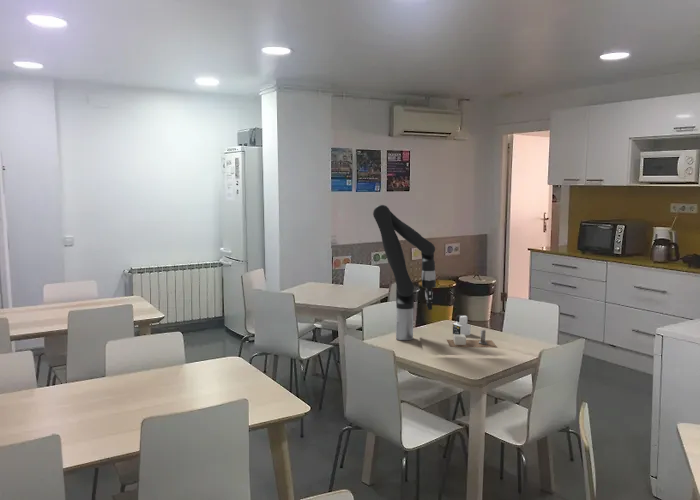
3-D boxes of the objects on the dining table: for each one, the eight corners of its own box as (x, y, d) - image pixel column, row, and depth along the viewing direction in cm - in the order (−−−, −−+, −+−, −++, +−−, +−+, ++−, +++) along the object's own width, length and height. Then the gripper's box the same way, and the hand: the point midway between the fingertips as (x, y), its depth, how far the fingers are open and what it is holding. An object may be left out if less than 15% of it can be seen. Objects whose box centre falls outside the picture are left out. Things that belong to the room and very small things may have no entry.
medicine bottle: (452, 335, 313) (452, 314, 312) (462, 334, 316) (463, 313, 315) (460, 338, 307) (460, 317, 305) (470, 337, 310) (471, 316, 308)
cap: (455, 344, 289) (455, 337, 288) (453, 341, 294) (453, 334, 294) (465, 344, 289) (466, 337, 288) (464, 341, 294) (464, 334, 294)
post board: (449, 349, 285) (450, 333, 284) (446, 342, 299) (446, 326, 298) (497, 350, 284) (497, 334, 283) (491, 343, 298) (492, 327, 297)
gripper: (420, 276, 310) (421, 305, 312) (422, 280, 296) (423, 310, 298) (434, 276, 310) (434, 305, 312) (437, 280, 296) (437, 310, 297)
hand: (429, 308), depth 305 cm, fingers open, 8 cm apart
